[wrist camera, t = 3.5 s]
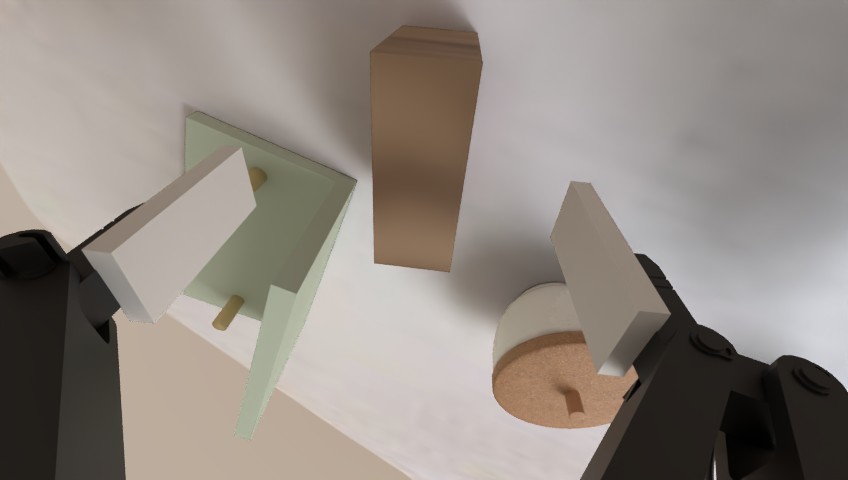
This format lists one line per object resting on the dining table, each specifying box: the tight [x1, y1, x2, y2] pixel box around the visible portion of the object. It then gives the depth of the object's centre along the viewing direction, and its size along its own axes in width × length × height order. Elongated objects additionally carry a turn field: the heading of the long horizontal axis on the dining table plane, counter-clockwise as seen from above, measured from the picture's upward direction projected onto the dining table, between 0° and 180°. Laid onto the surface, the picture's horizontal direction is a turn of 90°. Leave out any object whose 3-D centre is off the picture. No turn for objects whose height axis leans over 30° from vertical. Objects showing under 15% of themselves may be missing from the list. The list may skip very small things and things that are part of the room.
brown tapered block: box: [370, 26, 483, 272], centre depth 19 cm, size 10×4×8 cm, turn 176°
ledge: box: [183, 111, 357, 440], centre depth 25 cm, size 18×11×11 cm, turn 156°
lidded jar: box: [492, 282, 638, 429], centre depth 27 cm, size 11×11×9 cm
